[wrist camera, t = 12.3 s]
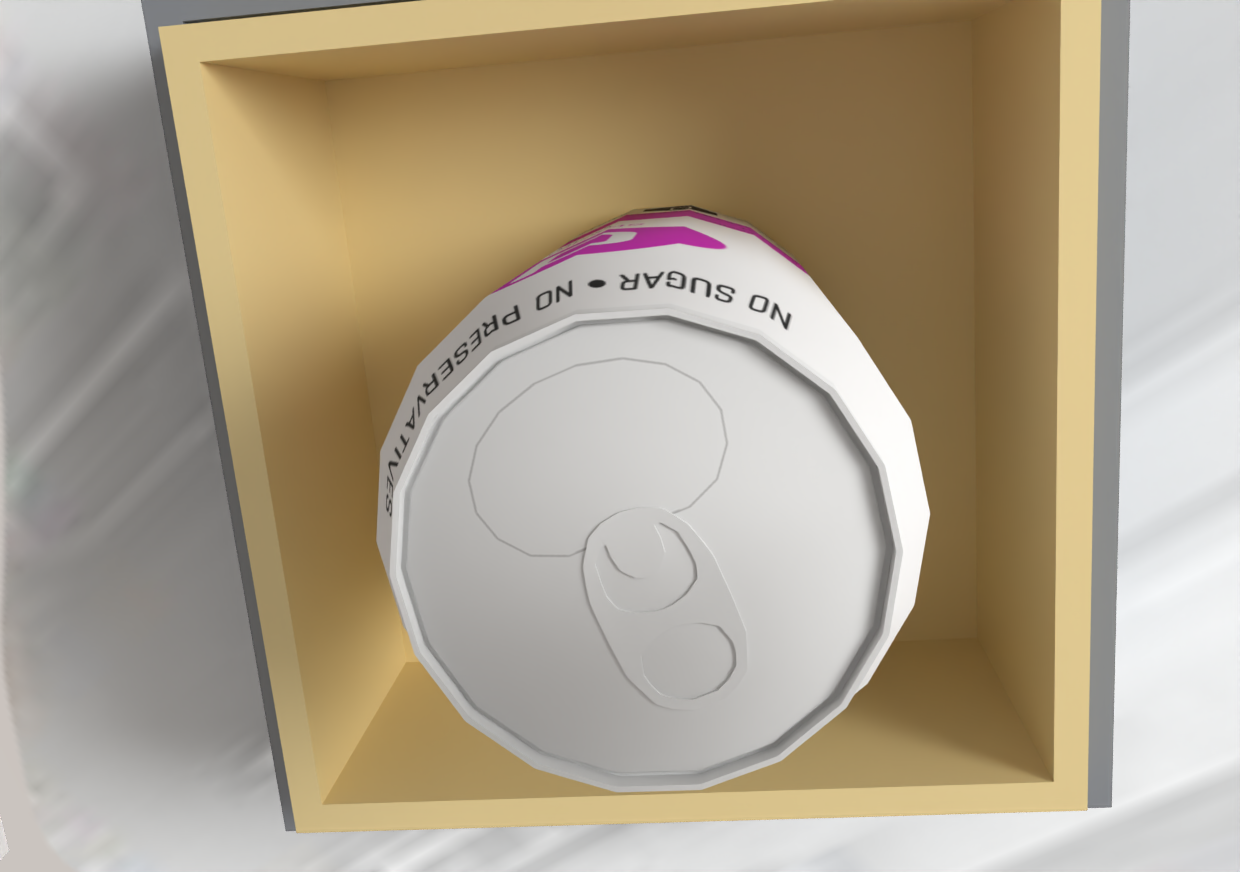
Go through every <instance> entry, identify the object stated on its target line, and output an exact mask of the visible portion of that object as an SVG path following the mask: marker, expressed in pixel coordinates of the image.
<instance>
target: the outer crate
mask: <svg viewBox="0 0 1240 872" xmlns="http://www.w3.org/2000/svg"><path fill="white" fill-rule="evenodd" d="M411 1H421V0H141V3H142V9H143V15H144V20H145V26H146V32H147V38H148V43H149V49H150V55H151V61H152V66H153V72H154V78H155V84H156V89H157V95H158V101H159V106H160V112H161V118H162V124H163V129H164V135H165V141H166V147H167V152H168V158H169V164H170V170H171V175H172V181H173V187H174V193H175V198H176V204H177V210H178V215H179V221H180V227H181V233H182V238H183V244H184V250H185V256H186V261H187V267H188V273H189V279H190V284H191V290H192V296H193V301H194V307H195V313H196V319H197V324H198V330H199V336H200V342H201V347H202V353H203V359H204V365H205V370H206V376H207V382H208V388H209V393H210V399H211V405H212V410H213V416H214V422H215V428H216V433H217V439H218V445H219V451H220V456H221V462H222V468H223V474H224V479H225V485H226V491H227V496H228V502H229V508H230V514H231V519H232V525H233V531H234V537H235V542H236V548H237V554H238V560H239V565H240V571H241V577H242V582H243V588H244V594H245V600H246V605H247V611H248V617H249V623H250V628H251V634H252V640H253V646H254V651H255V657H256V663H257V669H258V674H259V680H260V686H261V691H262V697H263V703H264V709H265V714H266V720H267V726H268V732H269V737H270V743H271V749H272V755H273V760H274V766H275V772H276V777H277V783H278V789H279V795H280V800H281V806H282V812H283V818H284V823H285V829H286V831H296V827H295V821H294V815H293V809H292V803H291V798H290V792H289V786H288V780H287V774H286V769H285V763H284V757H283V751H282V745H281V739H280V734H279V728H278V722H277V716H276V710H275V705H274V699H273V693H272V687H271V681H270V675H269V670H268V664H267V658H266V652H265V646H264V641H263V635H262V629H261V623H260V617H259V611H258V606H257V600H256V594H255V588H254V582H253V577H252V571H251V565H250V559H249V553H248V547H247V542H246V536H245V530H244V524H243V518H242V513H241V507H240V501H239V495H238V489H237V483H236V478H235V472H234V466H233V460H232V454H231V449H230V443H229V437H228V431H227V425H226V419H225V414H224V408H223V402H222V396H221V390H220V385H219V379H218V373H217V367H216V361H215V355H214V350H213V344H212V338H211V332H210V326H209V321H208V315H207V309H206V303H205V297H204V291H203V286H202V280H201V274H200V268H199V262H198V257H197V251H196V245H195V239H194V233H193V227H192V222H191V216H190V210H189V204H188V198H187V193H186V187H185V181H184V175H183V169H182V163H181V158H180V152H179V146H178V140H177V134H176V129H175V123H174V117H173V111H172V105H171V99H170V94H169V88H168V82H167V76H166V70H165V65H164V59H163V53H162V47H161V41H160V35H159V30H158V27H162V26H172V25H182V24H192V23H202V22H212V21H222V20H232V19H242V18H252V17H262V16H272V15H282V14H292V13H302V12H312V11H322V10H331V9H341V8H351V7H361V6H371V5H381V4H391V3H401V2H411ZM1129 30H1130V0H1101V52H1100V110H1099V168H1098V226H1097V284H1096V341H1095V399H1094V457H1093V515H1092V573H1091V631H1090V689H1089V747H1088V805H1087V808H1106V807H1112V769H1113V726H1114V682H1115V639H1116V595H1117V552H1118V508H1119V465H1120V421H1121V378H1122V335H1123V291H1124V248H1125V204H1126V161H1127V117H1128V74H1129Z"/></svg>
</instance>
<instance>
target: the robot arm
mask: <svg viewBox="0 0 1240 872" xmlns="http://www.w3.org/2000/svg"><path fill="white" fill-rule="evenodd" d="M8 852H9V847H8V843H7V839H6V835H5V831H4V828H3V823H2V820H1V816H0V860H1V859H2V858H3V857H4V856H5V855H6V854H7V853H8Z"/></svg>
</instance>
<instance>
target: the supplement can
mask: <svg viewBox="0 0 1240 872" xmlns="http://www.w3.org/2000/svg"><path fill="white" fill-rule="evenodd" d="M929 517H930V511H929V506H928V501H927V496H926V491H925V486H924V481H923V477H922V472H921V467H920V462H919V457H918V452H917V447H916V442H915V438H914V433H913V428H912V423H911V420H910V418H909V416H908V415H907V413H906V412H905V410H904V409H903V407H902V406H901V404H900V403H899V401H898V399H897V398H896V396H895V395H894V393H893V392H892V390H891V389H890V387H889V385H888V384H887V382H886V381H885V379H884V378H883V376H882V375H881V373H880V372H879V370H878V368H877V367H876V365H875V364H874V362H873V361H872V359H871V358H870V356H869V354H868V353H867V351H866V350H865V348H864V347H863V345H862V344H861V342H860V341H859V339H858V337H857V336H856V335H855V334H854V332H853V331H852V330H851V328H850V327H849V326H848V325H847V323H846V322H845V321H844V319H843V318H842V317H841V316H840V314H839V313H838V312H837V310H836V309H835V308H834V307H833V305H832V304H831V303H830V302H829V300H828V299H827V298H826V296H825V295H824V294H823V293H822V291H821V290H820V289H819V287H818V286H817V285H816V284H815V282H814V281H813V280H812V278H811V277H810V276H809V275H808V273H807V272H806V271H805V269H804V268H803V267H802V266H801V264H800V263H799V262H798V260H797V259H796V258H795V257H794V255H792V254H791V253H790V252H788V251H787V250H786V249H784V248H783V247H782V246H780V245H779V244H777V243H776V242H775V241H773V240H772V239H771V238H769V237H768V236H767V235H765V234H764V233H763V232H761V231H760V230H759V229H757V228H756V227H755V226H753V225H752V224H750V223H749V222H748V221H745V220H742V219H738V218H735V217H731V216H728V215H724V214H721V213H717V212H714V211H711V210H707V209H704V208H700V207H697V206H693V205H684V206H671V207H658V208H645V209H633V210H631V211H629V212H627V213H625V214H622V215H620V216H618V217H616V218H614V219H611V220H609V221H607V222H605V223H603V224H601V225H598V226H596V227H594V228H592V229H590V230H588V231H585V232H583V233H581V234H580V235H578V236H577V237H575V238H574V239H572V240H571V241H569V242H568V243H566V244H565V245H563V246H562V247H560V248H559V249H557V250H556V251H554V252H553V253H551V254H550V255H548V256H547V257H545V258H544V259H542V260H541V261H539V262H538V263H536V264H535V265H533V266H532V267H530V268H529V269H527V270H526V271H524V272H523V273H521V274H520V275H518V276H517V277H515V278H514V279H512V280H511V281H509V282H508V283H506V284H505V285H503V286H502V287H500V288H499V289H497V290H496V291H494V292H493V293H491V294H490V295H488V296H487V297H485V298H484V299H483V300H482V301H481V302H480V303H479V304H478V305H477V306H476V307H475V308H474V309H473V310H472V311H471V312H470V313H469V314H468V315H467V316H466V317H465V318H464V319H463V320H462V321H461V322H460V323H459V324H458V325H457V326H456V327H455V328H454V329H453V330H452V331H451V332H450V333H449V334H448V335H447V336H446V337H445V339H444V340H443V341H442V342H441V343H440V344H439V345H438V346H437V347H436V348H435V349H434V350H433V351H432V352H431V353H430V354H429V355H428V356H427V357H426V358H425V359H424V360H423V361H422V362H421V363H420V364H419V365H418V366H417V368H416V370H415V373H414V375H413V377H412V380H411V382H410V384H409V387H408V389H407V391H406V393H405V396H404V398H403V400H402V403H401V405H400V407H399V409H398V412H397V414H396V416H395V419H394V421H393V423H392V425H391V428H390V430H389V432H388V435H387V437H386V439H385V441H384V444H383V446H382V448H381V451H380V471H379V493H378V515H377V537H376V542H377V545H378V548H379V551H380V555H381V558H382V561H383V564H384V567H385V570H386V573H387V577H388V580H389V583H390V586H391V589H392V592H393V595H394V598H395V602H396V605H397V608H398V611H399V614H400V617H401V620H402V623H403V627H404V628H405V630H406V631H407V632H408V635H409V638H410V642H411V645H412V648H413V651H414V654H415V656H416V657H417V658H418V660H419V661H420V662H421V664H422V665H423V666H424V668H425V669H426V670H427V672H428V673H429V674H430V676H431V677H432V678H433V680H434V681H435V682H436V683H437V685H438V686H439V687H440V689H441V690H442V691H443V693H444V694H445V695H446V697H447V698H448V699H449V701H450V702H451V703H452V705H453V706H454V707H455V708H456V710H457V711H458V712H459V714H460V715H461V716H462V718H463V719H464V720H465V721H466V722H467V723H468V724H470V725H471V726H473V727H474V728H476V729H477V730H479V731H480V732H482V733H483V734H485V735H486V736H488V737H489V738H491V739H492V740H494V741H495V742H496V743H498V744H499V745H501V746H502V747H504V748H505V749H507V750H508V751H510V752H511V753H513V754H514V755H516V756H517V757H519V758H520V759H521V760H523V761H524V762H526V763H527V764H529V765H530V766H532V767H533V768H535V769H538V770H541V771H545V772H548V773H552V774H555V775H558V776H562V777H565V778H569V779H572V780H576V781H579V782H583V783H586V784H589V785H593V786H596V787H600V788H603V789H607V790H610V791H614V792H647V791H681V790H703V789H705V788H708V787H711V786H714V785H716V784H719V783H722V782H725V781H727V780H730V779H733V778H736V777H738V776H741V775H744V774H747V773H749V772H752V771H755V770H758V769H760V768H763V767H766V766H769V765H771V764H774V763H777V762H780V761H782V760H783V759H784V758H785V757H787V756H788V755H789V754H790V753H791V752H793V751H794V750H795V749H796V748H798V747H799V746H800V745H801V744H803V743H804V742H805V741H806V740H807V739H809V738H810V737H811V736H812V735H814V734H815V733H816V732H817V731H819V730H820V729H821V728H822V727H823V726H825V725H826V724H827V723H828V722H830V721H831V720H832V719H833V718H835V717H836V716H837V715H838V714H839V713H841V712H842V711H843V710H844V709H846V708H847V706H848V704H849V703H850V701H851V699H852V697H853V696H854V694H856V693H857V692H858V691H859V690H860V689H862V688H863V687H864V686H865V685H867V684H868V682H869V680H870V679H871V677H872V675H873V674H874V672H875V670H876V669H877V667H878V665H879V664H880V662H881V660H882V659H883V657H884V655H885V654H886V652H887V650H888V649H889V647H890V645H891V643H892V642H893V640H894V638H895V637H896V635H897V633H898V632H899V630H900V628H901V627H902V625H903V623H904V622H905V620H906V618H907V617H908V615H909V613H910V612H911V610H912V608H913V607H914V604H915V598H916V592H917V587H918V581H919V575H920V569H921V564H922V558H923V552H924V546H925V540H926V535H927V529H928V523H929Z"/></svg>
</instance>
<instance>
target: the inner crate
mask: <svg viewBox="0 0 1240 872" xmlns="http://www.w3.org/2000/svg"><path fill="white" fill-rule="evenodd" d="M158 30H159V35H160V41H161V47H162V53H163V59H164V65H165V70H166V76H167V82H168V88H169V94H170V99H171V105H172V111H173V117H174V123H175V129H176V134H177V140H178V146H179V152H180V158H181V163H182V169H183V175H184V181H185V187H186V193H187V198H188V204H189V210H190V216H191V222H192V227H193V233H194V239H195V245H196V251H197V257H198V262H199V268H200V274H201V280H202V286H203V291H204V297H205V303H206V309H207V315H208V321H209V326H210V332H211V338H212V344H213V350H214V355H215V361H216V367H217V373H218V379H219V385H220V390H221V396H222V402H223V408H224V414H225V419H226V425H227V431H228V437H229V443H230V449H231V454H232V460H233V466H234V472H235V478H236V483H237V489H238V495H239V501H240V507H241V513H242V518H243V524H244V530H245V536H246V542H247V547H248V553H249V559H250V565H251V571H252V577H253V582H254V588H255V594H256V600H257V606H258V611H259V617H260V623H261V629H262V635H263V641H264V646H265V652H266V658H267V664H268V670H269V675H270V681H271V687H272V693H273V699H274V705H275V710H276V716H277V722H278V728H279V734H280V739H281V745H282V751H283V757H284V763H285V769H286V774H287V780H288V786H289V792H290V798H291V803H292V809H293V815H294V821H295V827H296V833H316V832H351V831H386V830H421V829H456V828H491V827H526V826H561V825H596V824H631V823H666V822H701V821H736V820H770V819H805V818H840V817H875V816H910V815H945V814H980V813H1015V812H1050V811H1085V810H1087V805H1088V747H1089V689H1090V631H1091V573H1092V515H1093V457H1094V399H1095V341H1096V284H1097V226H1098V168H1099V110H1100V52H1101V0H421V1H411V2H401V3H391V4H381V5H371V6H361V7H351V8H341V9H331V10H322V11H312V12H302V13H292V14H282V15H272V16H262V17H252V18H242V19H232V20H222V21H212V22H202V23H192V24H182V25H172V26H162V27H158ZM684 205H693V206H697V207H700V208H704V209H707V210H711V211H714V212H717V213H721V214H724V215H728V216H731V217H735V218H738V219H742V220H745V221H748V222H749V223H750V224H752V225H753V226H755V227H756V228H757V229H759V230H760V231H761V232H763V233H764V234H765V235H767V236H768V237H769V238H771V239H772V240H773V241H775V242H776V243H777V244H779V245H780V246H782V247H783V248H784V249H786V250H787V251H788V252H790V253H791V254H792V255H794V257H795V258H796V259H797V260H798V262H799V263H800V264H801V266H802V267H803V268H804V269H805V271H806V272H807V273H808V275H809V276H810V277H811V278H812V280H813V281H814V282H815V284H816V285H817V286H818V287H819V289H820V290H821V291H822V293H823V294H824V295H825V296H826V298H827V299H828V300H829V302H830V303H831V304H832V305H833V307H834V308H835V309H836V310H837V312H838V313H839V314H840V316H841V317H842V318H843V319H844V321H845V322H846V323H847V325H848V326H849V327H850V328H851V330H852V331H853V332H854V334H855V335H856V336H857V337H858V339H859V341H860V342H861V344H862V345H863V347H864V348H865V350H866V351H867V353H868V354H869V356H870V358H871V359H872V361H873V362H874V364H875V365H876V367H877V368H878V370H879V372H880V373H881V375H882V376H883V378H884V379H885V381H886V382H887V384H888V385H889V387H890V389H891V390H892V392H893V393H894V395H895V396H896V398H897V399H898V401H899V403H900V404H901V406H902V407H903V409H904V410H905V412H906V413H907V415H908V416H909V418H910V420H911V423H912V428H913V433H914V438H915V442H916V447H917V452H918V457H919V462H920V467H921V472H922V477H923V481H924V486H925V491H926V496H927V501H928V506H929V511H930V517H929V523H928V529H927V535H926V540H925V546H924V552H923V558H922V564H921V569H920V575H919V581H918V587H917V592H916V598H915V604H914V607H913V608H912V610H911V612H910V613H909V615H908V617H907V618H906V620H905V622H904V623H903V625H902V627H901V628H900V630H899V632H898V633H897V635H896V637H895V638H894V640H893V642H892V643H891V645H890V647H889V649H888V650H887V652H886V654H885V655H884V657H883V659H882V660H881V662H880V664H879V665H878V667H877V669H876V670H875V672H874V674H873V675H872V677H871V679H870V680H869V682H868V684H867V685H865V686H864V687H863V688H862V689H860V690H859V691H858V692H857V693H856V694H854V696H853V697H852V699H851V701H850V703H849V704H848V706H847V708H846V709H844V710H843V711H842V712H841V713H839V714H838V715H837V716H836V717H835V718H833V719H832V720H831V721H830V722H828V723H827V724H826V725H825V726H823V727H822V728H821V729H820V730H819V731H817V732H816V733H815V734H814V735H812V736H811V737H810V738H809V739H807V740H806V741H805V742H804V743H803V744H801V745H800V746H799V747H798V748H796V749H795V750H794V751H793V752H791V753H790V754H789V755H788V756H787V757H785V758H784V759H783V760H782V761H780V762H777V763H774V764H771V765H769V766H766V767H763V768H760V769H758V770H755V771H752V772H749V773H747V774H744V775H741V776H738V777H736V778H733V779H730V780H727V781H725V782H722V783H719V784H716V785H714V786H711V787H708V788H705V789H703V790H681V791H647V792H614V791H610V790H607V789H603V788H600V787H596V786H593V785H589V784H586V783H583V782H579V781H576V780H572V779H569V778H565V777H562V776H558V775H555V774H552V773H548V772H545V771H541V770H538V769H535V768H533V767H532V766H530V765H529V764H527V763H526V762H524V761H523V760H521V759H520V758H519V757H517V756H516V755H514V754H513V753H511V752H510V751H508V750H507V749H505V748H504V747H502V746H501V745H499V744H498V743H496V742H495V741H494V740H492V739H491V738H489V737H488V736H486V735H485V734H483V733H482V732H480V731H479V730H477V729H476V728H474V727H473V726H471V725H470V724H468V723H467V722H466V721H465V720H464V719H463V718H462V716H461V715H460V714H459V712H458V711H457V710H456V708H455V707H454V706H453V705H452V703H451V702H450V701H449V699H448V698H447V697H446V695H445V694H444V693H443V691H442V690H441V689H440V687H439V686H438V685H437V683H436V682H435V681H434V680H433V678H432V677H431V676H430V674H429V673H428V672H427V670H426V669H425V668H424V666H423V665H422V664H421V662H420V661H419V660H418V658H417V657H416V656H415V654H414V651H413V648H412V645H411V642H410V638H409V635H408V632H407V631H406V630H405V628H404V627H403V623H402V620H401V617H400V614H399V611H398V608H397V605H396V602H395V598H394V595H393V592H392V589H391V586H390V583H389V580H388V577H387V573H386V570H385V567H384V564H383V561H382V558H381V555H380V551H379V548H378V545H377V542H376V537H377V515H378V493H379V471H380V451H381V448H382V446H383V444H384V441H385V439H386V437H387V435H388V432H389V430H390V428H391V425H392V423H393V421H394V419H395V416H396V414H397V412H398V409H399V407H400V405H401V403H402V400H403V398H404V396H405V393H406V391H407V389H408V387H409V384H410V382H411V380H412V377H413V375H414V373H415V370H416V368H417V366H418V365H419V364H420V363H421V362H422V361H423V360H424V359H425V358H426V357H427V356H428V355H429V354H430V353H431V352H432V351H433V350H434V349H435V348H436V347H437V346H438V345H439V344H440V343H441V342H442V341H443V340H444V339H445V337H446V336H447V335H448V334H449V333H450V332H451V331H452V330H453V329H454V328H455V327H456V326H457V325H458V324H459V323H460V322H461V321H462V320H463V319H464V318H465V317H466V316H467V315H468V314H469V313H470V312H471V311H472V310H473V309H474V308H475V307H476V306H477V305H478V304H479V303H480V302H481V301H482V300H483V299H484V298H485V297H487V296H488V295H490V294H491V293H493V292H494V291H496V290H497V289H499V288H500V287H502V286H503V285H505V284H506V283H508V282H509V281H511V280H512V279H514V278H515V277H517V276H518V275H520V274H521V273H523V272H524V271H526V270H527V269H529V268H530V267H532V266H533V265H535V264H536V263H538V262H539V261H541V260H542V259H544V258H545V257H547V256H548V255H550V254H551V253H553V252H554V251H556V250H557V249H559V248H560V247H562V246H563V245H565V244H566V243H568V242H569V241H571V240H572V239H574V238H575V237H577V236H578V235H580V234H581V233H583V232H585V231H588V230H590V229H592V228H594V227H596V226H598V225H601V224H603V223H605V222H607V221H609V220H611V219H614V218H616V217H618V216H620V215H622V214H625V213H627V212H629V211H631V210H633V209H645V208H658V207H671V206H684Z"/></svg>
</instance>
